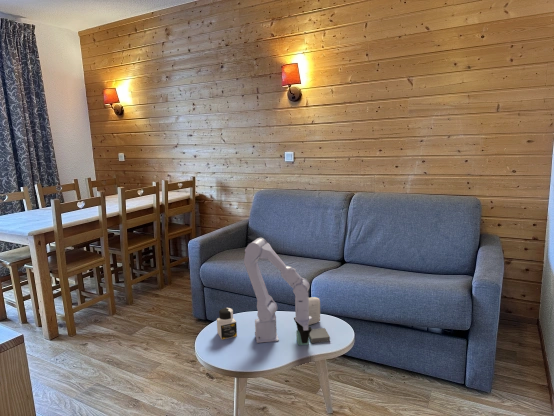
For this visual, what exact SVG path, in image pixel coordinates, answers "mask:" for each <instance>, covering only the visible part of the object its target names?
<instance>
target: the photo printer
mask: <svg viewBox="0 0 554 416" xmlns="http://www.w3.org/2000/svg"><path fill="white" fill-rule="evenodd" d="M309 316H311V317H312V320H309V324H308V326H310V325H314V324H318V323H320V322H321V300H320V298H318V297H314V296H313V297H309ZM319 321H320V322H319ZM317 322H318V323H317Z"/></svg>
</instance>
